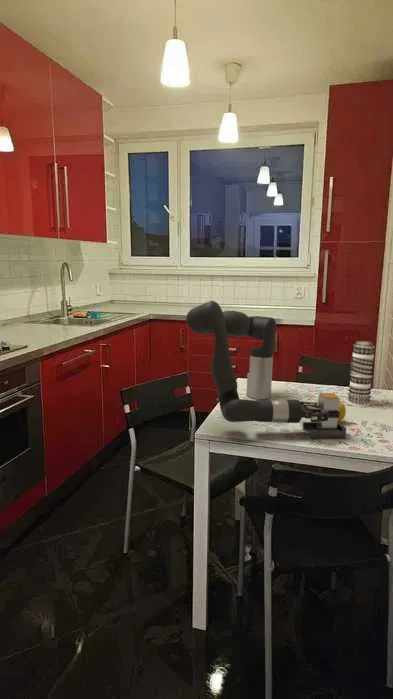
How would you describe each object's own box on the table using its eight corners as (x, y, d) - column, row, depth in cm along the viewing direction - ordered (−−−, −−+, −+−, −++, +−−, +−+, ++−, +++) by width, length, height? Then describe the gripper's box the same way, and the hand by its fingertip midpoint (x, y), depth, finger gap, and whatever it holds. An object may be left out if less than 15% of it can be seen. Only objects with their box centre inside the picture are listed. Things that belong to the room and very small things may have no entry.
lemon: (342, 426, 156) (344, 403, 154) (326, 423, 159) (328, 401, 157) (346, 421, 160) (348, 400, 159) (330, 418, 163) (332, 397, 162)
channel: (311, 438, 144) (311, 428, 143) (302, 428, 152) (303, 418, 152) (345, 438, 145) (346, 428, 144) (334, 428, 153) (335, 418, 153)
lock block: (321, 434, 146) (324, 397, 144) (315, 429, 151) (319, 392, 148) (336, 434, 146) (339, 397, 144) (330, 429, 151) (334, 392, 149)
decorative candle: (341, 402, 183) (347, 341, 179) (355, 398, 189) (360, 339, 184) (361, 408, 176) (367, 344, 172) (375, 404, 182) (381, 342, 177)
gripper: (291, 406, 138) (345, 407, 140) (279, 393, 152) (328, 394, 154) (289, 430, 140) (343, 430, 141) (278, 414, 154) (327, 415, 155)
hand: (335, 411), depth 147 cm, fingers closed on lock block, 5 cm apart
